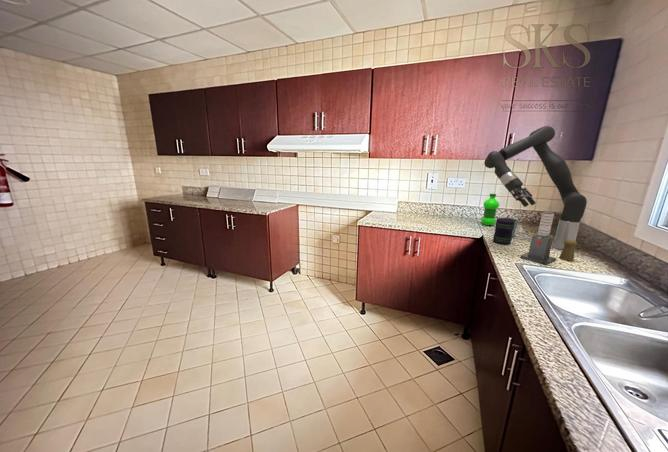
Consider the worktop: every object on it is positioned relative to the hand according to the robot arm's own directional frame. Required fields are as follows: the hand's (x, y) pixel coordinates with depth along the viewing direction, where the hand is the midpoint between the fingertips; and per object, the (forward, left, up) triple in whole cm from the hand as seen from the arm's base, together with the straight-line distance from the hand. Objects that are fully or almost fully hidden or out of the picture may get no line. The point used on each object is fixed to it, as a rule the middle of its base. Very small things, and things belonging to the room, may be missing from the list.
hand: (530, 205), depth 139 cm
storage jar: (-10, -19, -29) cm, 36 cm away
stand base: (-3, +8, -28) cm, 30 cm away
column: (-3, +8, -22) cm, 23 cm away
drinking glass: (-27, -28, -29) cm, 48 cm away
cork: (-18, +13, -29) cm, 36 cm away
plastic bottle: (-40, -54, -29) cm, 73 cm away
